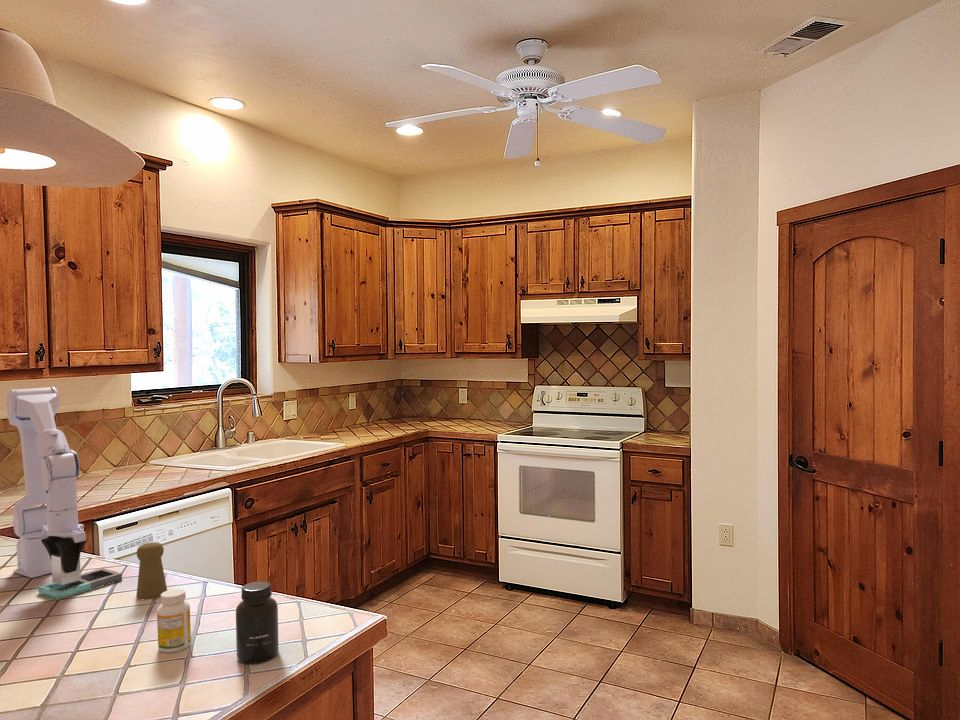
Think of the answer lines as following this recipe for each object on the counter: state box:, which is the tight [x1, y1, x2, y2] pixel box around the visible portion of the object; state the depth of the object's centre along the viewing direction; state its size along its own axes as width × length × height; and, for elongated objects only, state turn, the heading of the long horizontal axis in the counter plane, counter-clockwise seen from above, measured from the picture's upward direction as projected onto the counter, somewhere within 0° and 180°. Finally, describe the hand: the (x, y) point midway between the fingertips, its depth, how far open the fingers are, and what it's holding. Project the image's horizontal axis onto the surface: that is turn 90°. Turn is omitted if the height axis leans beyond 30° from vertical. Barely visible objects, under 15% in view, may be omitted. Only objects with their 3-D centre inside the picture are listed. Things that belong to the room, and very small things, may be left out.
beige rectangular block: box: [51, 553, 82, 585], centre depth 151 cm, size 4×4×6 cm
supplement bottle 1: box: [156, 588, 192, 654], centre depth 121 cm, size 5×5×10 cm
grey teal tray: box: [38, 567, 123, 601], centre depth 154 cm, size 8×14×2 cm, turn 147°
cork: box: [136, 541, 168, 601], centre depth 147 cm, size 6×6×11 cm
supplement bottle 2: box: [235, 581, 279, 665], centre depth 117 cm, size 7×7×12 cm
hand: (65, 570), depth 151 cm, fingers closed on beige rectangular block, 4 cm apart
